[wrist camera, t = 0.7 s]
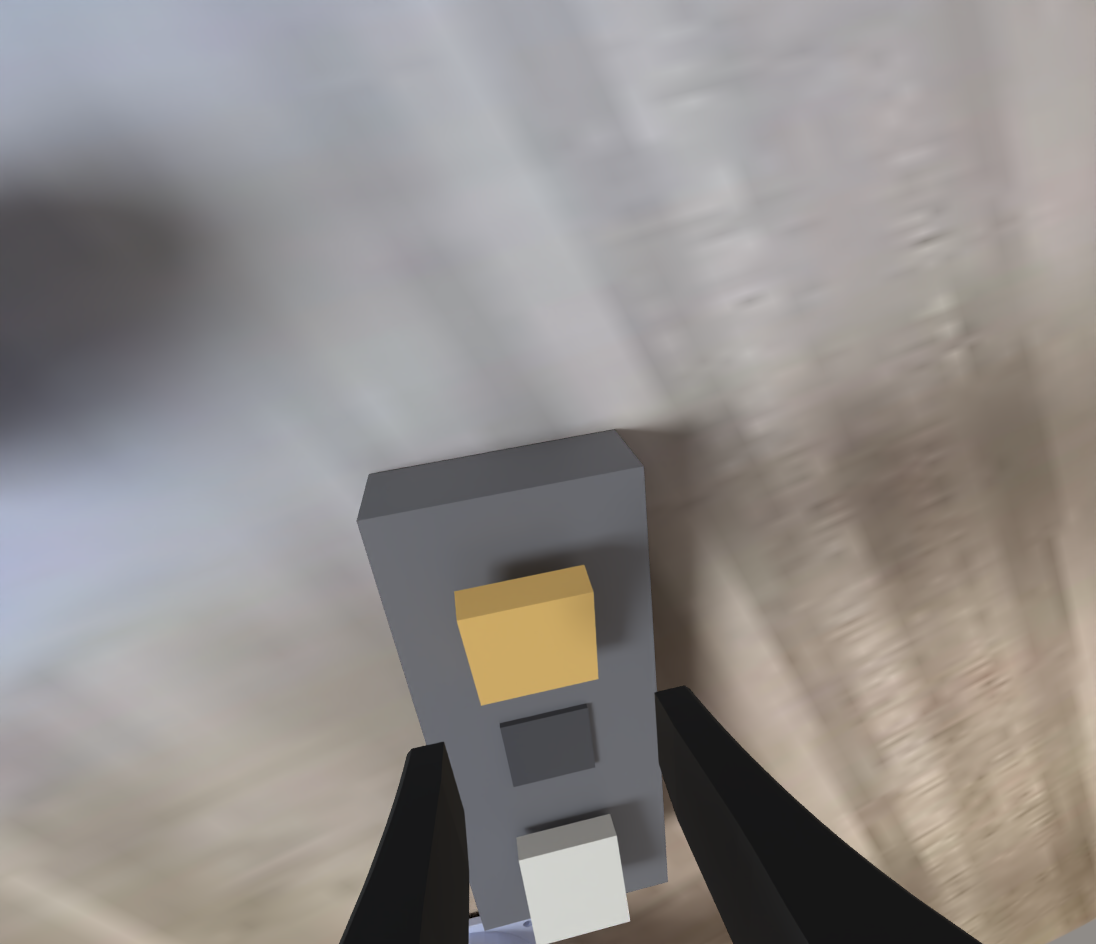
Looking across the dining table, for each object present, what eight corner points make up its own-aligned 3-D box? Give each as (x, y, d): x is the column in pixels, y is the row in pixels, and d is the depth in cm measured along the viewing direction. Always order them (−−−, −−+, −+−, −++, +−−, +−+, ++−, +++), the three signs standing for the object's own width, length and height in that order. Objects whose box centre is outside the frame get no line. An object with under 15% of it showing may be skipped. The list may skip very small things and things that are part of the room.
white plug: (623, 896, 23) (630, 921, 22) (533, 920, 22) (536, 946, 21) (609, 813, 22) (616, 835, 21) (516, 837, 21) (518, 860, 20)
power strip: (648, 854, 29) (671, 925, 26) (490, 895, 28) (496, 973, 25) (614, 429, 19) (646, 469, 16) (368, 474, 18) (355, 524, 15)
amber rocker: (590, 651, 18) (598, 678, 18) (477, 676, 18) (481, 705, 17) (584, 564, 16) (593, 591, 15) (454, 591, 16) (456, 620, 15)
